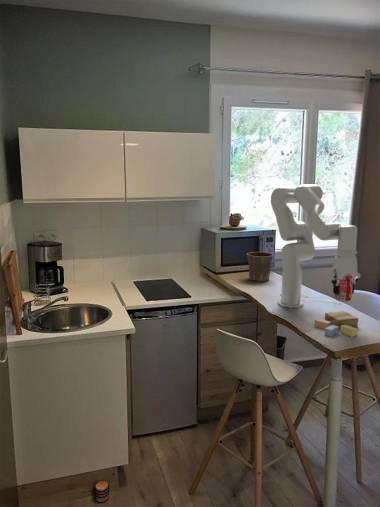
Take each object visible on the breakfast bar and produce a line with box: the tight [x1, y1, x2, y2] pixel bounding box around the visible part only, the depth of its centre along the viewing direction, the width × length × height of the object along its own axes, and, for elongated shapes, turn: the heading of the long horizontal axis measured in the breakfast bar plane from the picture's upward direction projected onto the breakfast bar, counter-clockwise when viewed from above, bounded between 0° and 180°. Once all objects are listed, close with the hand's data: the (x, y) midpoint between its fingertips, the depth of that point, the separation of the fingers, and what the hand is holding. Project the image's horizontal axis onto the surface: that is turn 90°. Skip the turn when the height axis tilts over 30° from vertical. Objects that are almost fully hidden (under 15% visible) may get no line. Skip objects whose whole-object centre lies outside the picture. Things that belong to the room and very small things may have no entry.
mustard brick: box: [339, 325, 358, 337], centre depth 187 cm, size 6×3×3 cm, turn 32°
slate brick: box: [324, 325, 340, 337], centre depth 187 cm, size 6×3×3 cm, turn 133°
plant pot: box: [246, 251, 274, 283], centre depth 275 cm, size 16×16×16 cm
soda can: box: [334, 275, 353, 303], centre depth 195 cm, size 7×7×12 cm
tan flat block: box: [324, 310, 359, 330], centre depth 198 cm, size 10×10×4 cm
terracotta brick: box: [313, 318, 331, 330], centre depth 195 cm, size 6×3×3 cm, turn 47°
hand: (343, 293), depth 196 cm, fingers closed on soda can, 7 cm apart
